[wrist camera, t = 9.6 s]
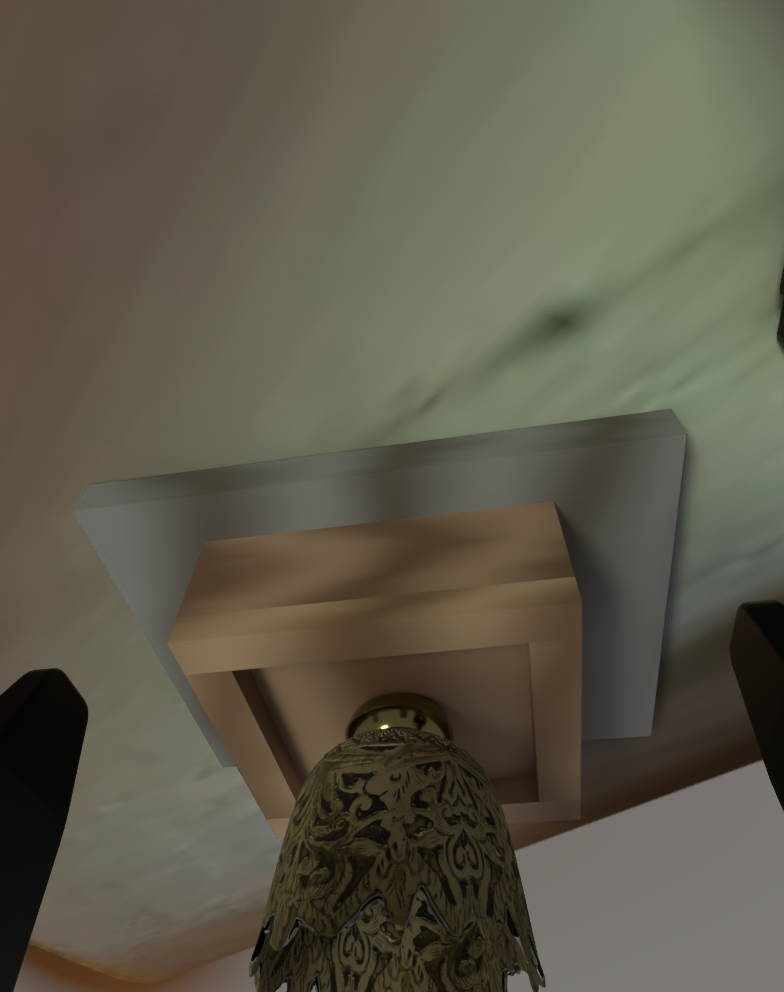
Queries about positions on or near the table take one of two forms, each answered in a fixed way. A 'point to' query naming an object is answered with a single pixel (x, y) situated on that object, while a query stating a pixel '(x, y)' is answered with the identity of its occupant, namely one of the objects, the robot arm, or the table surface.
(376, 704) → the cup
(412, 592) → the wooden square tray
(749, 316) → the table surface
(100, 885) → the table surface
